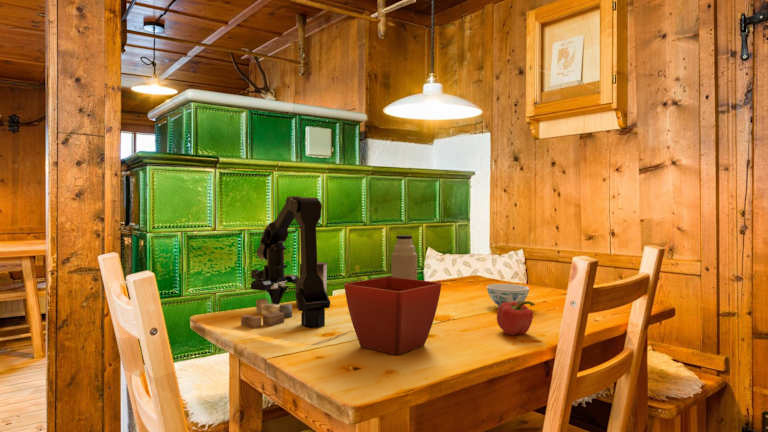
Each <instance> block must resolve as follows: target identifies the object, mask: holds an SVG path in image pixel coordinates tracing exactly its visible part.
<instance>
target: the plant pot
mask: <svg viewBox="0 0 768 432" xmlns="http://www.w3.org/2000/svg"><path fill="white" fill-rule="evenodd" d="M441 289H442V283H441V282H437V281H436V282H435V281H430V280H421V279H417V280H414V279H405V278H396V277H392V276H384V277H377V278H372V279H366V280H358V281H352V282H346V283H344V292H345V297H346V304H347V308H348V313H349V315H350V320H351V323H352V327H353V329H354V333H355V335H356V338H357V340H358V342H359V343H358V344H359V345H360V347H362V348H366V349H370V350H375V351H378V352H382V353H385V354H391V355H395V356H397V355H402V354H403V353H406V352H410V351H412V350H415V349H419V348H420V347H424V346H425V344H426V342H427V340H428V337H429V335H430V331H431V329H432V326H433V323H434V320H435V316H436V313H437V309H438V306H439V305H438V304H439V301H440V295H441Z"/></svg>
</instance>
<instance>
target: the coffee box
mask: <svg viewBox="0 0 768 432" xmlns="http://www.w3.org/2000/svg"><path fill="white" fill-rule="evenodd" d="M317 266H318V274H319V276H320V277H321V279H322V280H323V283H324V289H325V291H326V292H327V289H328V288H327V286H328V285H327V280H328V279H327V277H328V276H327V273H328V272H327V271H328V263H327V262H325V261H324V262H319V261H317ZM301 274H302V270H301V263H300V264H299V277H300V276H301ZM312 303H316V302H312ZM307 304H309V303H307Z"/></svg>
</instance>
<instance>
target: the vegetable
mask: <svg viewBox="0 0 768 432" xmlns="http://www.w3.org/2000/svg"><path fill="white" fill-rule="evenodd" d="M527 305H530V306H531V307H532V306H536V303H534V302H532V301H530V300H525V301H524V302H521V303H519V304H518V303H517V302H511V303H509V302H506V303H502V304H501V305H500V306H499V308H498V309H497V313H496V322H497V325H498V326H499V328H500V329H501V330H502V332H503V333H504V334H506V335H509V336H516V335H524V334H526V333H527V332H528V331H529V330H530V328H531V325H532V322H533V318H534V313H533V311H532V309H529V307H528V306H527Z"/></svg>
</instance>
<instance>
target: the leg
mask: <svg viewBox="0 0 768 432" xmlns="http://www.w3.org/2000/svg"><path fill="white" fill-rule="evenodd" d="M255 302H256V303H255V305H256V306H255V308H256V310H255V313H256V314H261V315H267V314H271V313H275V312H280V313H284V319H289V318H292V317H293V305H292V304H290V303H289V304H279V305H278V304H273V303H272V302H271V303H270V302H268V298H260V299H256V300H255Z"/></svg>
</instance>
